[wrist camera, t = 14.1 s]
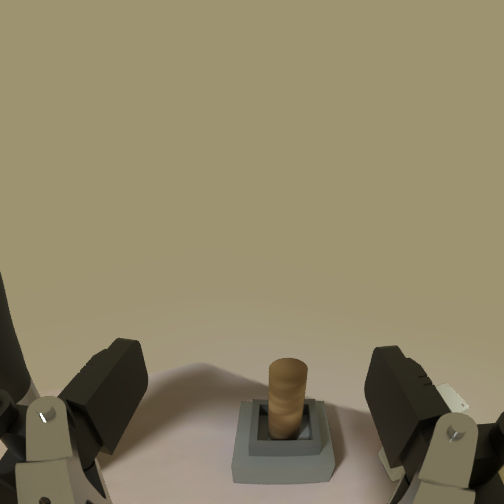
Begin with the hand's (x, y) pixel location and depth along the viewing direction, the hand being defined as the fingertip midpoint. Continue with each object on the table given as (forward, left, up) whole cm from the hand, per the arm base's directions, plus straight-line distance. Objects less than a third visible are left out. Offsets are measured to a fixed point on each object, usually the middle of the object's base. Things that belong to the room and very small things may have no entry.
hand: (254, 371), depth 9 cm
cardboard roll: (+3, +19, -26) cm, 32 cm away
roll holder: (+3, +19, -31) cm, 37 cm away
